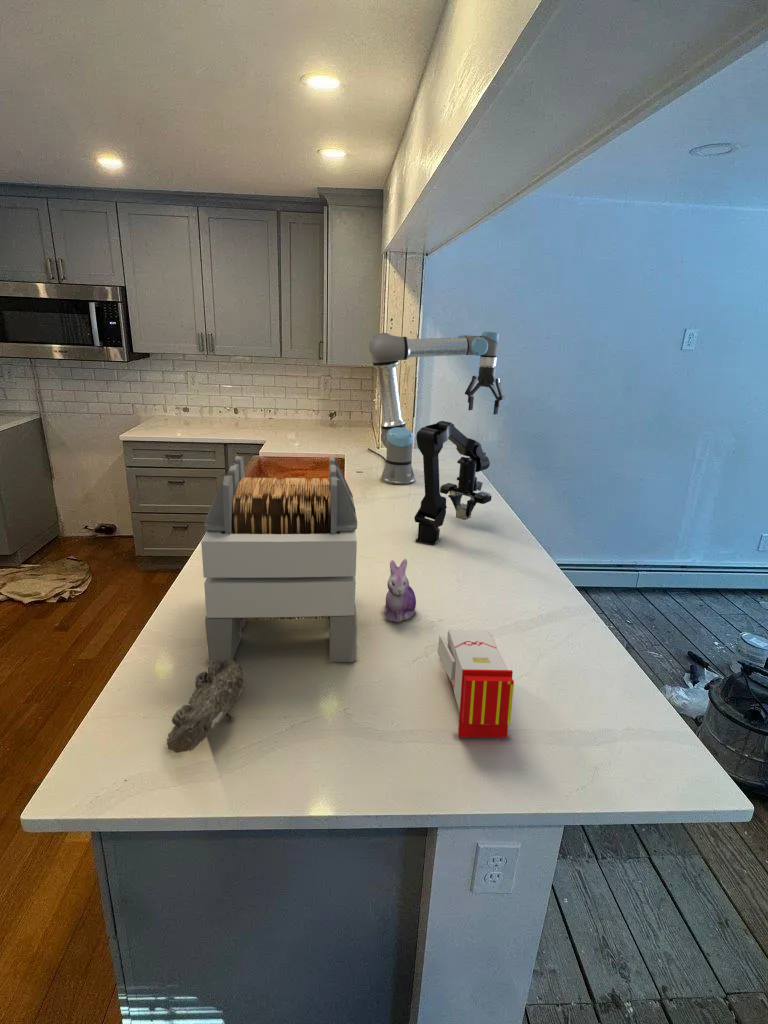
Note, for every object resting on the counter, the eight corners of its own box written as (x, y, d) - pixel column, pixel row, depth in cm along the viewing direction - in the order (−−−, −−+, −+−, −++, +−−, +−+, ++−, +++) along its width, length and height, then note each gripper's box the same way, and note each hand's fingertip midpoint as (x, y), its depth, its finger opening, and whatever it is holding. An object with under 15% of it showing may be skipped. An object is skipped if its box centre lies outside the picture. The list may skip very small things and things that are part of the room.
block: (464, 520, 207) (466, 508, 205) (455, 517, 209) (456, 505, 208) (470, 517, 210) (471, 505, 208) (461, 514, 212) (462, 503, 211)
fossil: (192, 660, 117) (244, 628, 112) (224, 691, 120) (276, 661, 115) (142, 746, 98) (202, 712, 93) (182, 779, 101) (242, 748, 96)
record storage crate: (228, 592, 154) (220, 446, 140) (349, 591, 158) (352, 448, 144) (205, 667, 122) (192, 487, 109) (356, 663, 126) (362, 488, 112)
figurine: (392, 627, 141) (395, 572, 136) (374, 608, 149) (376, 556, 144) (425, 619, 145) (429, 566, 140) (405, 601, 154) (408, 550, 149)
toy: (488, 613, 130) (523, 677, 101) (484, 667, 133) (517, 744, 104) (435, 612, 130) (455, 676, 101) (432, 666, 133) (451, 743, 103)
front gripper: (501, 475, 204) (496, 516, 210) (457, 465, 215) (453, 504, 220) (485, 481, 196) (481, 523, 201) (440, 470, 207) (437, 511, 212)
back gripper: (515, 368, 259) (510, 414, 266) (468, 363, 274) (464, 407, 281) (507, 369, 254) (502, 416, 261) (460, 364, 268) (456, 409, 275)
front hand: (463, 515), depth 209 cm, fingers closed on block, 4 cm apart
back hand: (482, 412), depth 271 cm, fingers open, 13 cm apart
